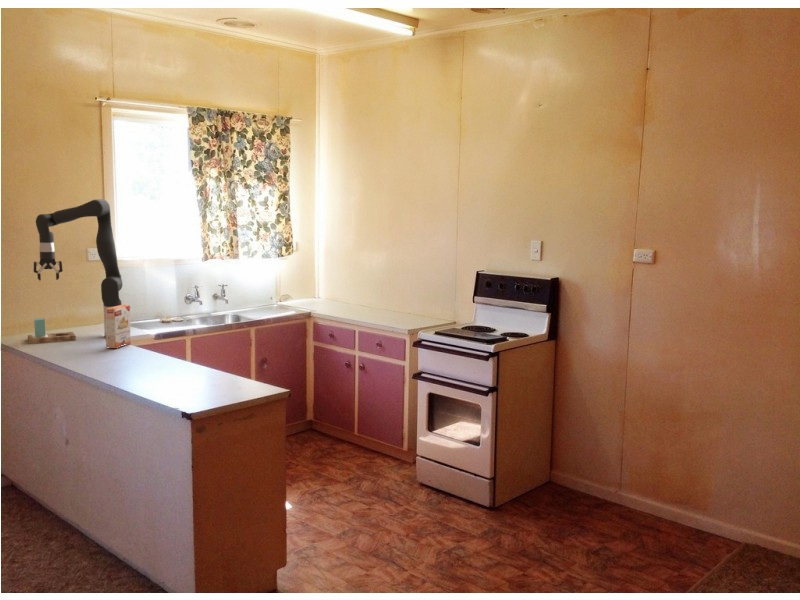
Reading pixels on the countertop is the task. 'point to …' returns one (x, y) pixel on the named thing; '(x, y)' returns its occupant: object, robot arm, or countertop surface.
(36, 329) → the teal block
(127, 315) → the cracker box
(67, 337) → the puzzle board
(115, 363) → the countertop surface
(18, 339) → the countertop surface
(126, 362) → the countertop surface
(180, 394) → the countertop surface
